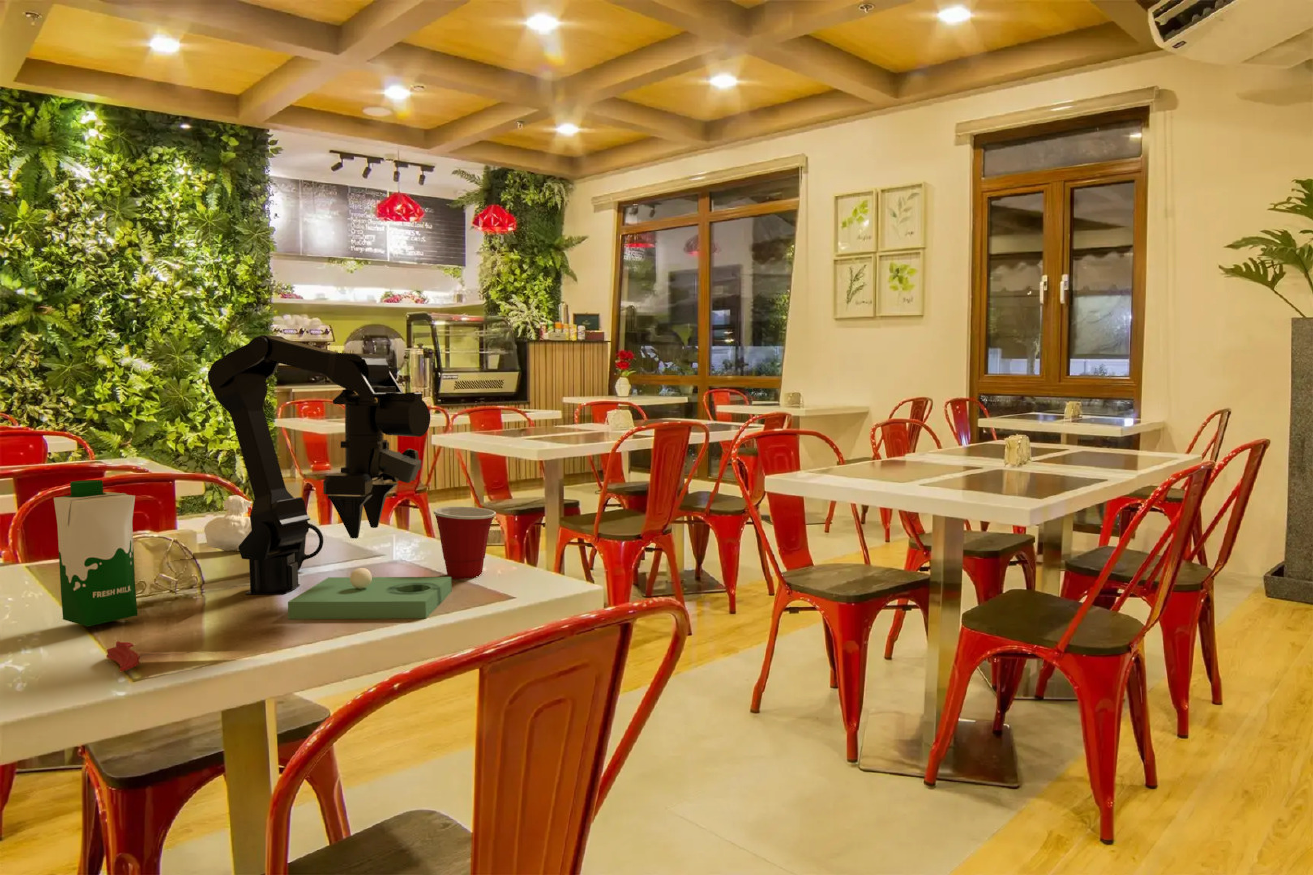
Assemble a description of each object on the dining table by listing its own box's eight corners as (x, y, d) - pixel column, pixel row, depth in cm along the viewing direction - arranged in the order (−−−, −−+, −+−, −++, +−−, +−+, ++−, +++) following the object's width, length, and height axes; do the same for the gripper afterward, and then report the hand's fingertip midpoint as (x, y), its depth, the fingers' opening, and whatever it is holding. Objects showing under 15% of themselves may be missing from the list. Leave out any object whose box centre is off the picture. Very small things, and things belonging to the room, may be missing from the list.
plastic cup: (491, 583, 151) (490, 513, 150) (427, 584, 151) (425, 513, 150) (502, 570, 162) (501, 504, 161) (442, 570, 162) (441, 504, 161)
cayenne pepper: (114, 646, 118) (113, 632, 118) (153, 643, 119) (153, 629, 119) (89, 674, 106) (88, 658, 106) (133, 670, 108) (132, 654, 108)
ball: (347, 591, 135) (346, 570, 135) (354, 586, 139) (353, 565, 138) (368, 591, 135) (367, 570, 135) (374, 586, 139) (374, 565, 138)
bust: (194, 554, 178) (192, 498, 177) (213, 547, 185) (211, 493, 185) (255, 553, 178) (253, 498, 177) (271, 546, 186) (269, 493, 185)
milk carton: (115, 607, 136) (109, 477, 135) (147, 615, 132) (141, 480, 130) (52, 620, 129) (45, 483, 128) (84, 629, 124) (77, 487, 123)
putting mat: (288, 618, 129) (287, 601, 129) (329, 592, 145) (328, 577, 145) (425, 618, 129) (425, 601, 129) (451, 591, 145) (451, 576, 145)
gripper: (397, 439, 130) (397, 545, 131) (431, 431, 148) (431, 523, 150) (321, 438, 130) (322, 543, 131) (364, 429, 149) (365, 522, 150)
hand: (364, 532), depth 140 cm, fingers open, 9 cm apart
